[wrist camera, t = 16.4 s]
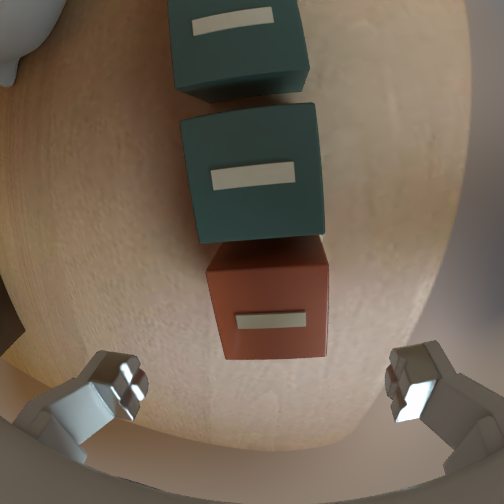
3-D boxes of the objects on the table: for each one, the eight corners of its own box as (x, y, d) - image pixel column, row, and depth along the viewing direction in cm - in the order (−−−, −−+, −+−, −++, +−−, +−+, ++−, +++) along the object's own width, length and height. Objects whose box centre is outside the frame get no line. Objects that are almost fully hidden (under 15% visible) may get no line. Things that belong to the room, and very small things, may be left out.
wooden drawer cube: (316, 225, 12) (329, 265, 8) (318, 301, 14) (327, 358, 10) (227, 231, 13) (203, 273, 9) (239, 306, 14) (224, 361, 11)
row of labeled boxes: (322, 306, 14) (331, 362, 10) (234, 311, 15) (218, 365, 11) (278, -55, 7) (274, -102, 3) (187, -40, 7) (157, -79, 4)
